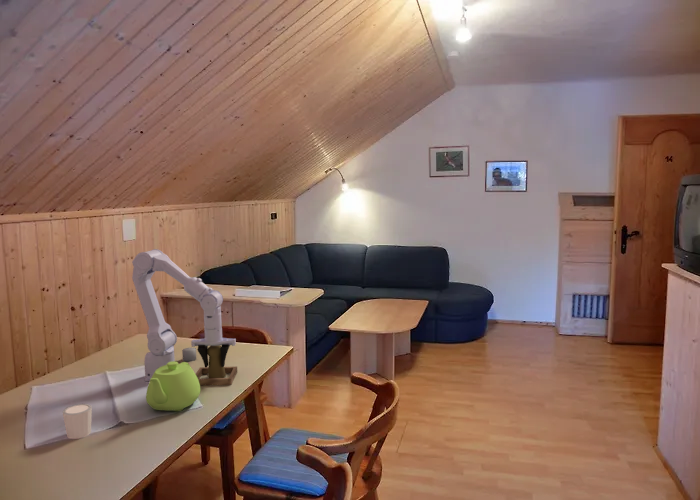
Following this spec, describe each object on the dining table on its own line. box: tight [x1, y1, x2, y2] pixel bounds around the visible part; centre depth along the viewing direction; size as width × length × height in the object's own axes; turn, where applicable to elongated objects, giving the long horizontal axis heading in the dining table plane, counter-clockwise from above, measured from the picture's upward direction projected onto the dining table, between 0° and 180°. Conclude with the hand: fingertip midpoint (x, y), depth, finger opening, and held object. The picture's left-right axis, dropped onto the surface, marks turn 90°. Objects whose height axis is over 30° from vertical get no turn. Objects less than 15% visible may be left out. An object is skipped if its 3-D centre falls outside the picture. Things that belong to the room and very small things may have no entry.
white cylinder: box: [62, 403, 93, 440], centre depth 137 cm, size 7×7×7 cm
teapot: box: [145, 360, 201, 412], centre depth 154 cm, size 22×15×13 cm
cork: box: [207, 345, 227, 379], centre depth 178 cm, size 6×6×11 cm
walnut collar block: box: [195, 366, 238, 387], centre depth 177 cm, size 13×12×2 cm
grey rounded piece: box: [181, 347, 198, 363], centre depth 197 cm, size 5×5×4 cm
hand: (214, 366), depth 176 cm, fingers closed on cork, 5 cm apart
